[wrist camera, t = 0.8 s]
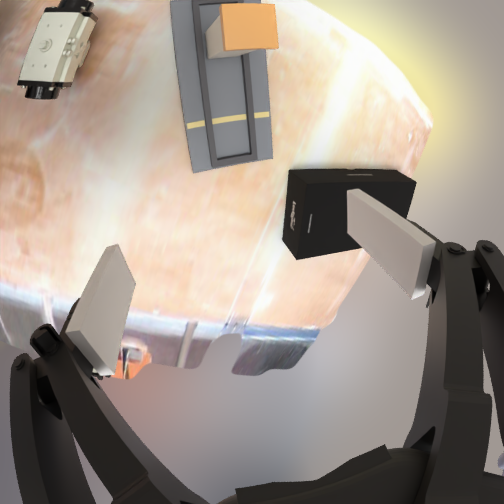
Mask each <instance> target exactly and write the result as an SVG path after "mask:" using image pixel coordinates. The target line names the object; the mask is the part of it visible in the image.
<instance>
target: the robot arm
mask: <svg viewBox="0 0 504 504" xmlns="http://www.w3.org/2000/svg"><path fill="white" fill-rule="evenodd" d="M347 220H348V231H347V233H348V234H349V235H350V236H351V237H352V238H353V239H354V240H355V241H356V242H357V243H358V244H359V245H360V246H361V247H362V248H363V249H364V250H365V251H366V252H367V253H368V254H369V255H370V256H371V257H372V258H373V259H374V260H375V261H376V262H377V263H378V264H379V265H380V266H381V267H382V268H383V269H384V270H385V271H386V272H387V273H388V274H389V275H390V276H391V277H392V278H393V280H394V281H395V282H396V283H397V284H398V285H399V286H400V287H401V288H402V289H403V291H404V292H405V293H406V294H407V295H408V296H409V297H410V298H411V299H414V298H417V297H419V296H421V295H423V294H424V291H425V288H426V284H428V285H429V286H430V287H431V292H430V295H429V299H428V302H427V305H426V307H427V308H428V306H429V324H428V336H427V347H426V357H425V364H424V371H423V377H422V384H421V390H420V394H419V399H418V404H417V409H416V413H415V418H414V422H413V425H412V428H411V430H410V432H409V434H408V436H407V438H406V440H405V443H404V446H403V448H393V449H387V448H386V446H385V444H384V445H382V446H380V447H378V448H376V449H373V450H372V451H369V452H367V453H364V454H362V455H359V456H357V457H355V458H352V459H350V460H349V461H347V462H346V463H344V464H343V465H341V466H339V467H338V468H337V469H335V470H333V471H332V472H330V473H328V474H326V475H325V476H323V477H321V478H320V479H318V480H314V481H303V482H272V483H267V484H262V485H256V486H250V487H244V488H237V489H235V490H236V494H235V495H233V496H230V497H228V498H226V499H224V500H222V501H221V502H219V503H218V504H504V470H503V474H502V476H500V475H496V474H492V473H488V472H485V471H484V467H485V462H486V455H487V450H488V443H489V436H490V427H491V416H492V415H491V414H492V397H491V396H490V394H486V393H484V391H483V350H484V353H485V357H486V361H487V364H488V369H489V373H490V377H491V382H492V386H493V392H494V397H495V403H496V409H497V416H498V423H499V429H500V434H501V439H502V443H503V446H504V256H503V254H502V253H501V251H500V250H499V249H498V247H497V246H496V245H494V244H493V243H492V242H490V241H487V240H486V241H485V240H480V241H478V242H477V245H476V248H475V250H473V251H466V249H465V248H464V247H463V246H461V245H459V244H457V243H453V242H447V243H442V242H441V241H440V240H439V239H437V238H436V237H435V236H433V235H432V234H430V233H429V232H427V231H426V230H425V229H424V228H422V227H421V226H419V225H418V224H417V223H415V222H412V221H410V220H407V219H404V218H403V217H401V216H400V215H398V214H397V213H395V212H394V211H392V210H391V209H389V208H388V207H386V206H385V205H383V204H382V203H380V202H379V201H377V200H376V199H374V198H373V197H371V196H369V195H368V194H366V193H365V192H363V191H361V190H360V189H353V190H347ZM489 283H490V290H488V288H487V287H488V284H489ZM135 285H136V283H135V281H134V278H133V276H132V274H131V272H130V270H129V268H128V265H127V263H126V261H125V259H124V257H123V254H122V252H121V250H120V247H119V245H118V244H116V245H113V246H109V247H107V248H106V249H105V251H104V253H103V255H102V257H101V258H100V260H99V262H98V264H97V266H96V268H95V270H94V271H93V273H92V275H91V277H90V279H89V281H88V283H87V285H86V287H85V289H84V291H83V293H82V296H81V298H78V300H77V301H76V302H75V303H74V304H73V306H72V308H71V310H70V312H69V314H68V316H67V320H66V321H65V323H64V325H63V328H62V330H61V332H60V335H58V333H57V332H56V331H55V329H54V328H53V326H52V325H51V324H44V325H42V326H40V327H39V328H38V329H36V330H35V331H34V333H33V334H32V336H31V339H30V345H31V346H32V347H33V348H34V349H35V351H36V352H37V353H38V354H39V355H40V357H39V358H37V359H35V360H33V359H32V358H31V357H30V356H29V355H28V354H27V353H23V354H21V355H19V356H17V357H16V359H15V360H14V362H13V364H12V367H11V378H10V425H11V438H12V448H13V456H14V463H15V469H16V474H17V480H18V484H19V489H20V493H21V497H22V501H23V504H96V502H95V500H94V497H93V495H92V493H91V490H90V488H89V485H88V483H87V480H86V477H85V474H84V471H83V469H82V465H81V462H80V459H79V456H78V453H77V449H76V446H75V442H74V439H73V435H74V437H75V438H76V441H77V442H78V444H79V446H80V448H81V449H82V451H83V453H84V455H85V456H86V458H87V460H88V461H89V463H90V465H91V466H92V468H93V469H94V471H95V472H96V474H97V475H98V477H99V478H100V480H101V481H102V483H103V484H104V486H105V487H106V488H107V490H108V491H109V493H110V494H111V496H112V497H113V501H112V503H111V504H209V503H208V502H207V501H206V500H204V499H203V498H201V497H200V496H199V495H197V494H195V493H194V492H192V491H191V490H190V489H188V488H187V487H186V486H185V485H184V484H182V482H180V481H179V480H178V479H177V478H176V477H175V476H174V475H173V474H172V473H171V472H170V471H169V470H168V469H167V468H166V467H165V466H164V465H163V464H162V463H161V462H160V461H159V460H158V459H157V458H156V457H155V456H154V454H152V452H151V451H150V450H149V449H148V448H147V447H146V445H144V443H143V442H142V441H141V440H140V438H139V437H138V436H137V435H136V434H135V432H134V431H133V430H132V429H131V428H130V426H129V425H128V424H127V422H126V421H125V420H124V419H123V417H122V416H121V415H120V413H119V412H118V411H117V409H116V408H115V407H114V405H113V404H112V402H111V401H110V400H109V398H108V397H107V395H106V394H105V392H104V391H103V389H102V388H101V386H100V385H99V383H98V382H97V380H96V379H95V378H94V377H93V375H92V372H93V368H94V369H95V370H96V371H97V372H98V373H99V374H100V376H104V375H115V370H116V365H117V360H118V355H119V350H120V345H121V340H122V336H123V331H124V327H125V323H126V319H127V315H128V311H129V307H130V303H131V299H132V296H133V292H134V288H135ZM72 433H73V434H72ZM498 466H499V468H501V469H504V453H502V454H501V455H500V457H499V459H498Z"/></svg>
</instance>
